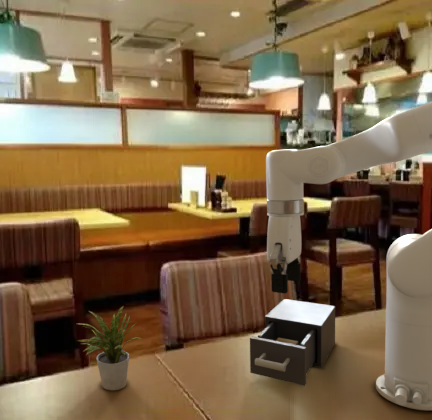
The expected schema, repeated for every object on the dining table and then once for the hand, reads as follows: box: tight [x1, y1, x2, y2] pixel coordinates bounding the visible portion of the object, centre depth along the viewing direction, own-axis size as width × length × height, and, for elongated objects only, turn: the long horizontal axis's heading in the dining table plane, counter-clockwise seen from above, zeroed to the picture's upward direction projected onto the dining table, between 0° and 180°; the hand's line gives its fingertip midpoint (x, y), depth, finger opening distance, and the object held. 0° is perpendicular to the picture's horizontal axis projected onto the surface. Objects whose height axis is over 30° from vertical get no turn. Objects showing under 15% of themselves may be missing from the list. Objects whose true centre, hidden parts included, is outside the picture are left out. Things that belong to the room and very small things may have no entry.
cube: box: [276, 338, 298, 345], centre depth 98 cm, size 4×4×4 cm
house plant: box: [76, 305, 142, 391], centre depth 96 cm, size 14×14×16 cm
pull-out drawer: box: [249, 321, 317, 387], centre depth 96 cm, size 18×12×8 cm, turn 146°
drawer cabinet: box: [264, 298, 336, 369], centre depth 108 cm, size 15×13×10 cm
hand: (286, 286), depth 96 cm, fingers open, 9 cm apart
